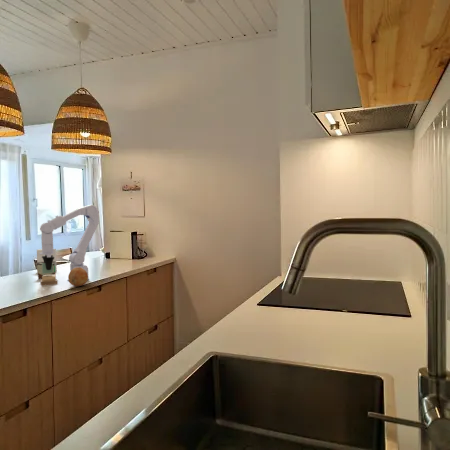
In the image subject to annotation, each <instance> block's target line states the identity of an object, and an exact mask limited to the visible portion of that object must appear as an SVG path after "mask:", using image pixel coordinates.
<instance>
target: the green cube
mask: <svg viewBox="0 0 450 450" xmlns="http://www.w3.org/2000/svg"><path fill="white" fill-rule="evenodd" d="M42 273H53V263H52V267H51V270H47V269H46V265H45V263H42Z"/></svg>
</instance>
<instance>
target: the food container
mask: <svg viewBox="0 0 450 450" xmlns="http://www.w3.org/2000/svg"><path fill="white" fill-rule="evenodd" d="M42 263H44V262H37V261H36V262H35V267H36V272H37V278H38V280H42V276H43V275H54V274H56V271H55V268H56V267H57V265H58V264H57V261H56V262H55V261H53V262H52V263H53V273H42Z"/></svg>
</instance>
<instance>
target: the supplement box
mask: <svg viewBox="0 0 450 450" xmlns="http://www.w3.org/2000/svg"><path fill="white" fill-rule="evenodd" d="M53 252H54V254H52V255H53V257H54V259H53V261H55V262H56V263H57V250H56V248H53ZM40 253H42V248H39V249H36V262H44V260H43V258H42V256H45V255H42V254H40ZM57 269H58V268H57V266H56V268H55V272H57Z"/></svg>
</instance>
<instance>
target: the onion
mask: <svg viewBox="0 0 450 450" xmlns="http://www.w3.org/2000/svg"><path fill="white" fill-rule="evenodd" d="M88 276H89V273H88V274H87V272H86V271H85V270H84V269H83V268H80V267H77V268H74V269H72V270H71V271H70V272H69V273H68V279H67V280H69V281H68V283H69V284H70V285H72V286H73V287H80V286H84V285H86V283H87V281H88Z"/></svg>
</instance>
